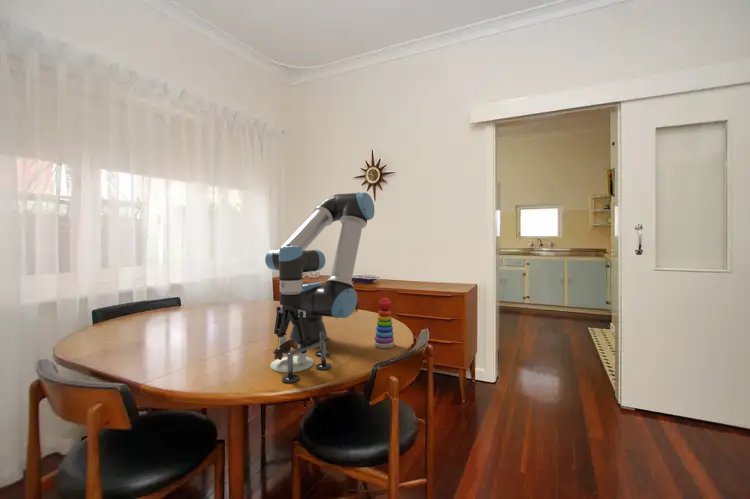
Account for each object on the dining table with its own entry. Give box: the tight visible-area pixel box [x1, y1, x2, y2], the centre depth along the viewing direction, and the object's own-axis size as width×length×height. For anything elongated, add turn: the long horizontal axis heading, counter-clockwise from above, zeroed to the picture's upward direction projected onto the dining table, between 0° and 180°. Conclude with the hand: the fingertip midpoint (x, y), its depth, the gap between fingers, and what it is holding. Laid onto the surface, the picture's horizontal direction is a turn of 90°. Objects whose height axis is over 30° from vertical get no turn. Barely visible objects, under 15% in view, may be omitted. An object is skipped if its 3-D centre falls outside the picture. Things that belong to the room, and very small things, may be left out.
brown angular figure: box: [272, 339, 303, 365], centre depth 119 cm, size 12×10×8 cm
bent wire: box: [281, 331, 332, 384], centre depth 117 cm, size 15×26×8 cm, turn 139°
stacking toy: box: [373, 297, 396, 349], centre depth 137 cm, size 8×8×19 cm
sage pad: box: [269, 355, 315, 374], centre depth 118 cm, size 14×14×1 cm
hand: (292, 359), depth 118 cm, fingers open, 10 cm apart
